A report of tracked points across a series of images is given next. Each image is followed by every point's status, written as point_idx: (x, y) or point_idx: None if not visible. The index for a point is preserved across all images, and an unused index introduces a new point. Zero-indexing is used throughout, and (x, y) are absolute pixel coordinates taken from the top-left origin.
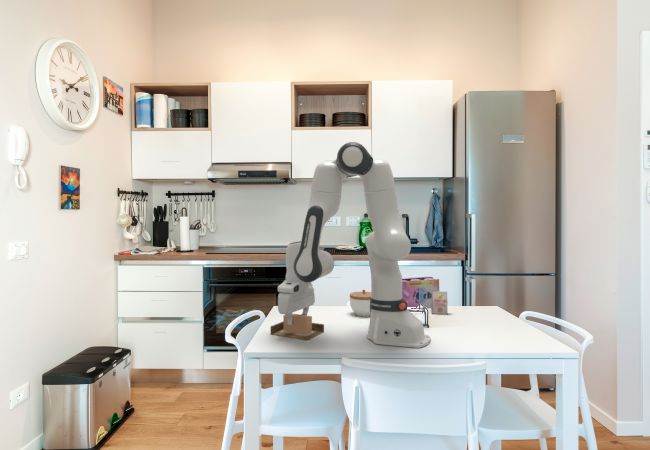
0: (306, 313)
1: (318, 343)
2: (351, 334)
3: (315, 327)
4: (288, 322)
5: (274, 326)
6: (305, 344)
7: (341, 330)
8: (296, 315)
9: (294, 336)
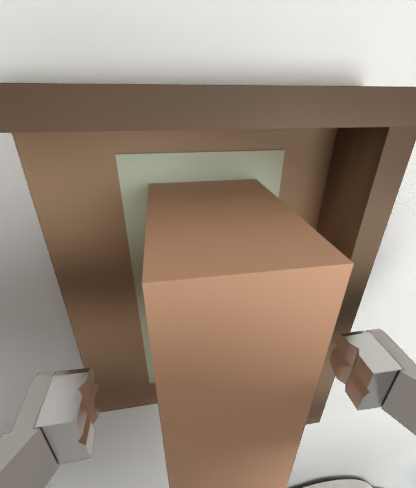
0: (390, 414)
1: (98, 452)
2: (302, 452)
3: None
4: (34, 401)
5: (15, 130)
6: None
7: (352, 405)
8: (248, 411)
9: (89, 336)
